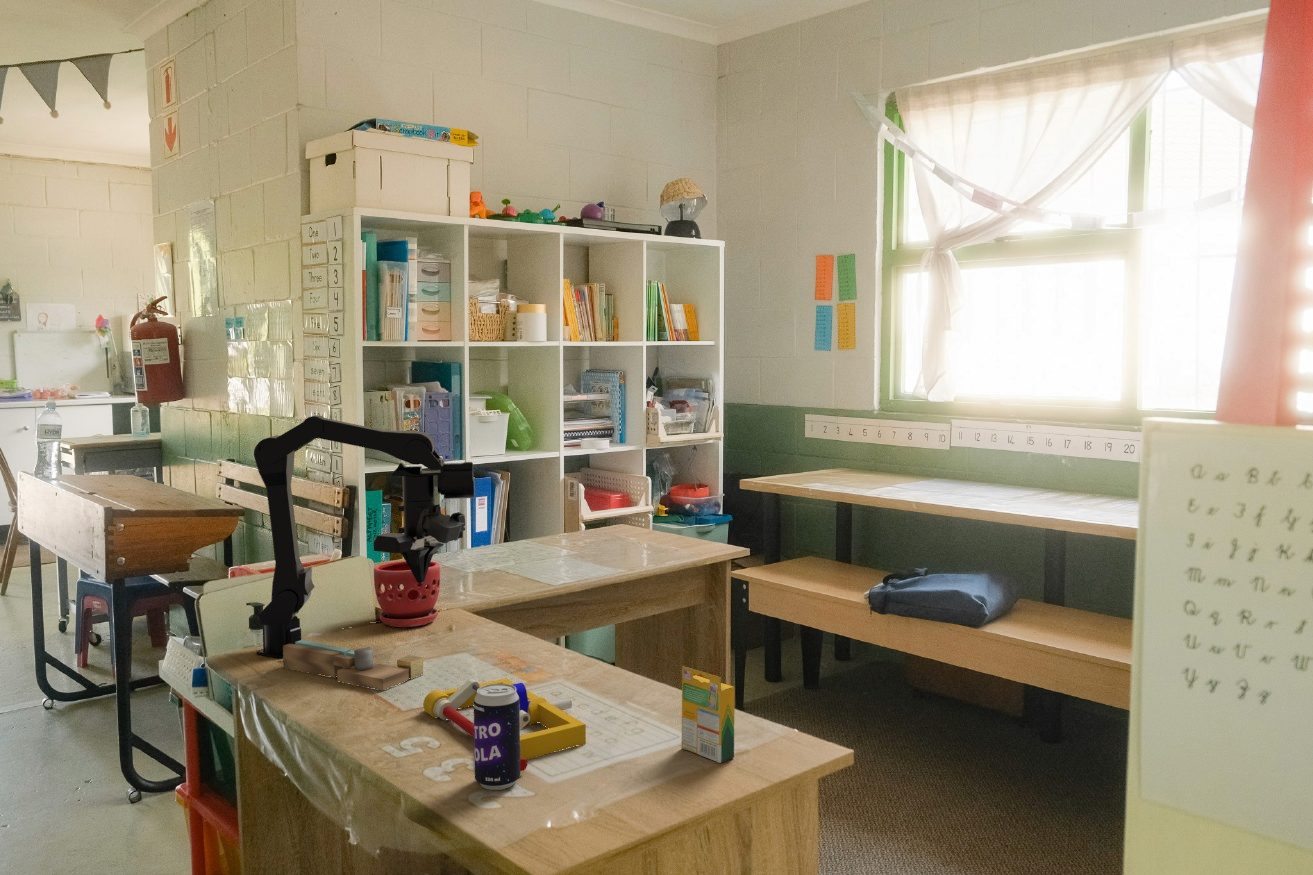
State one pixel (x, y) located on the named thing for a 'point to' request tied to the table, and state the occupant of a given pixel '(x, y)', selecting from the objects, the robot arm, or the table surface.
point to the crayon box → (707, 715)
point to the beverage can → (497, 736)
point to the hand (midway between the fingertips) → (420, 582)
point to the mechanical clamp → (532, 710)
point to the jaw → (326, 648)
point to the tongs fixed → (355, 670)
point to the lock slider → (411, 665)
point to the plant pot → (406, 594)
